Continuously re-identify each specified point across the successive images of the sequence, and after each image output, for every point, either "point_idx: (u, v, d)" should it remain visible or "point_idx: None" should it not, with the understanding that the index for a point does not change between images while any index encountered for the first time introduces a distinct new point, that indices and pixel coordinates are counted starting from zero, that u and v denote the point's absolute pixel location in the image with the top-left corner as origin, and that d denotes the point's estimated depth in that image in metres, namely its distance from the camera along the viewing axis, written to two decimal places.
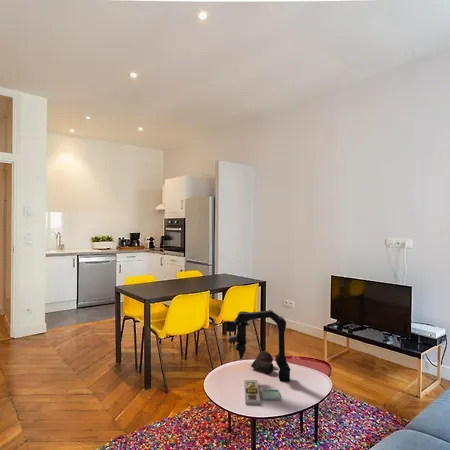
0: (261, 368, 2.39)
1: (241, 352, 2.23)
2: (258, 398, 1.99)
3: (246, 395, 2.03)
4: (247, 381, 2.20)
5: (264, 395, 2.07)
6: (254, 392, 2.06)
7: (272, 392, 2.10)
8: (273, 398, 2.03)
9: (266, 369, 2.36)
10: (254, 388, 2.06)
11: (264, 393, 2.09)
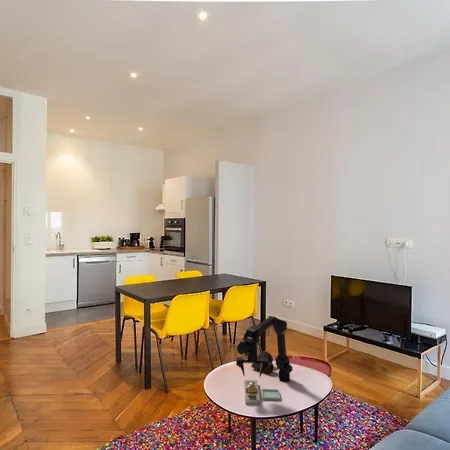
0: None
1: None
2: (258, 398, 1.99)
3: (246, 395, 2.03)
4: (247, 381, 2.20)
5: (264, 395, 2.07)
6: (254, 392, 2.06)
7: (272, 392, 2.10)
8: (273, 398, 2.03)
9: (266, 369, 2.36)
10: (254, 388, 2.06)
11: (264, 393, 2.09)
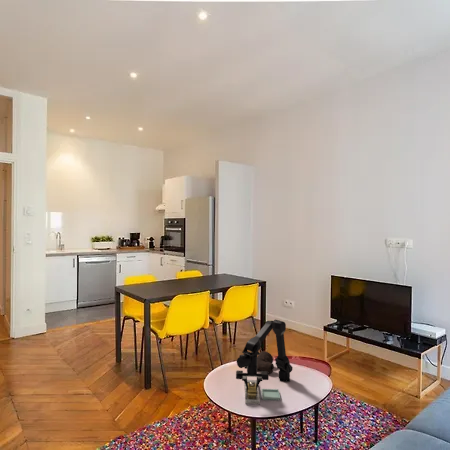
0: (261, 368, 2.39)
1: None
2: (258, 398, 1.99)
3: (246, 395, 2.03)
4: (247, 381, 2.20)
5: (264, 395, 2.07)
6: (254, 392, 2.06)
7: (272, 392, 2.10)
8: (273, 398, 2.03)
9: (266, 369, 2.36)
10: (254, 388, 2.06)
11: (264, 393, 2.09)
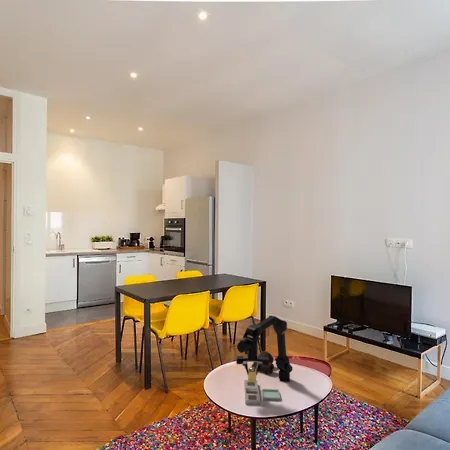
0: (261, 368, 2.38)
1: None
2: (258, 398, 1.99)
3: (246, 395, 2.03)
4: (247, 381, 2.20)
5: (264, 395, 2.07)
6: (254, 377, 2.05)
7: (272, 392, 2.10)
8: (273, 398, 2.03)
9: (266, 369, 2.36)
10: (254, 373, 2.05)
11: (264, 393, 2.09)
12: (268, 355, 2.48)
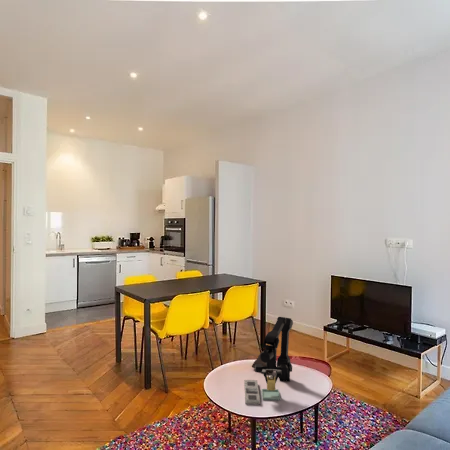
0: None
1: None
2: (258, 398, 1.99)
3: (246, 395, 2.03)
4: (247, 381, 2.20)
5: (264, 395, 2.07)
6: (273, 385, 2.05)
7: (272, 392, 2.10)
8: (273, 398, 2.03)
9: None
10: (273, 381, 2.05)
11: (264, 393, 2.09)
12: None
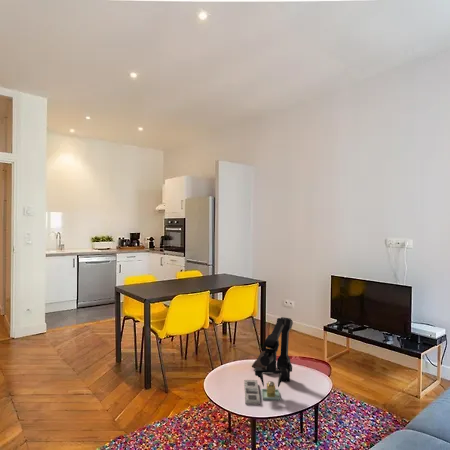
0: (262, 368, 2.38)
1: None
2: (258, 398, 1.99)
3: (246, 395, 2.03)
4: (247, 381, 2.20)
5: (264, 395, 2.07)
6: (273, 392, 2.05)
7: None
8: (273, 398, 2.03)
9: None
10: (273, 388, 2.05)
11: (264, 393, 2.09)
12: None
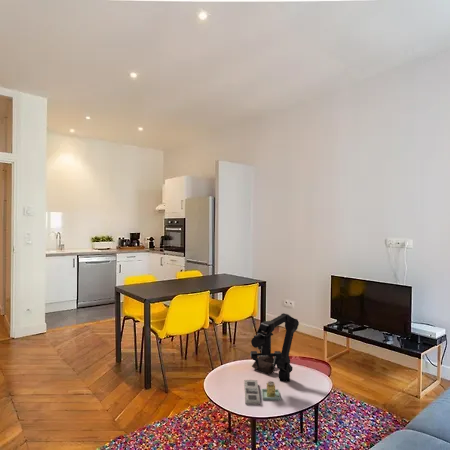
0: (262, 368, 2.38)
1: None
2: (258, 398, 1.99)
3: (246, 395, 2.03)
4: (247, 381, 2.20)
5: (264, 395, 2.07)
6: (273, 392, 2.05)
7: None
8: (273, 398, 2.03)
9: (267, 370, 2.35)
10: (273, 388, 2.05)
11: (264, 393, 2.09)
12: None
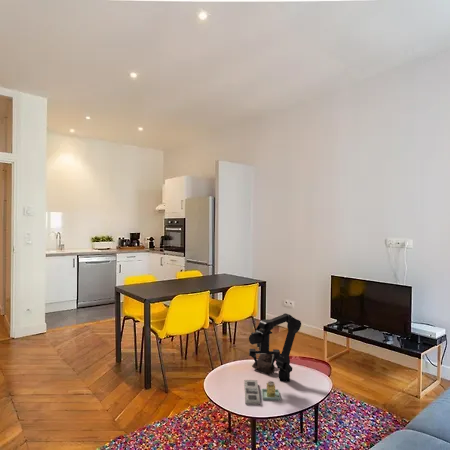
0: (262, 369, 2.38)
1: None
2: (258, 398, 1.99)
3: (246, 395, 2.03)
4: (247, 381, 2.20)
5: (264, 395, 2.07)
6: (273, 392, 2.05)
7: None
8: (273, 398, 2.03)
9: (267, 370, 2.35)
10: (273, 388, 2.05)
11: (264, 393, 2.09)
12: (269, 355, 2.47)
